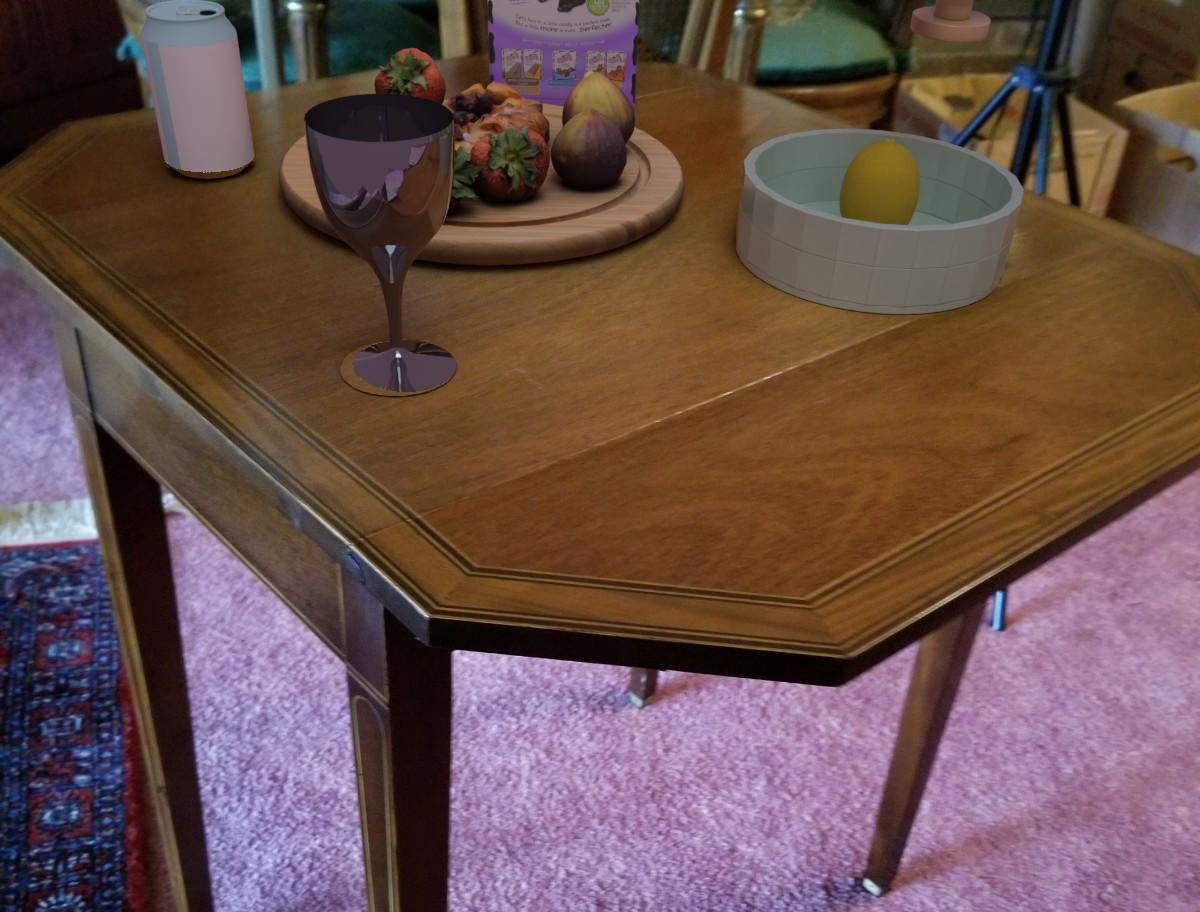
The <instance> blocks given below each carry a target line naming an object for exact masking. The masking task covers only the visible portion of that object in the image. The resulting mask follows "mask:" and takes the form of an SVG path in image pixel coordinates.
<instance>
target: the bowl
mask: <svg viewBox="0 0 1200 912" xmlns="http://www.w3.org/2000/svg"><path fill="white" fill-rule="evenodd" d="M885 138H893V139H894V140H895V141H896V143H897V144H899V145H901V146H903V147H904V148H906V149H907V150H908V151H909V152H910V153H911V155H912V156H913V157H914V159H915V161H916V164H917V167H918V171H919V179H920V190H919V198H918V203H917V206H916V209H915V212H914V214H913V216H912V218H911V220H910V222H909V224H908V225H896V224H880V223H873V222H867V221H861V220H854V219H848V218H843V217H841V213H840V202H839V201H840V191H841V187H842V183H843V179H844V176H845V173H846V171H847V169H848V167H849V165H850V163H851V161H852V159H853V158H854V157H855V156H856V155H857V154H858V153H859V152H860V151H861V150H862V149H864V148H865V147H867V146H869V145H871V144H873V143H876V142H881V141H882V140H884V139H885ZM1024 190H1025V189H1024V187H1023V186H1022V184H1021V182H1020V181H1019V178H1018V177H1017V176H1016V175H1015V174H1014V173H1012V172H1011V171H1010V170H1008V169H1007V168H1006V167H1005V166H1003V165H1002V164H1001V163H999V162H998V161H996V160H993V159H991V158H989V157H988V156H985V155H983V154H981V153H979V152H977V151H974V150H971V149H968V148H966V147H963V146H960V145H956V144H954V143H951V142H947V141H944V140H939V139H936V138H935V139H934V138H931V137H927V136H922V135H916V134H910V133H903V132H897V131H889V130H881V129H863V128H827V129H826V128H823V129H814V130H806V131H800V132H799V131H798V132H792V133H787V134H785V135H781V136H778V137H773V138H771V139H768V140H766V141H765V142H763V143H761V144H759V145H758V146H756V147H754V148H752V149H750V151H749V153H748V154H747V156H746V157H745V158H744V160H743V165H742V175H741V183H740V193H739V201H738V210H737V219H736V227H735V228H736V229H735V250H736V253H737V256H738V258H739V260H740V262H741V263H742V264H743V265H744V266H745V268H746V269H747V270H748V271H749V272H751V274H753V275H754V276H755V277H756V278H758V279H760V280H761V281H763V282H765V283H766V284H768V285H770V286H772V287H774V288H775V289H778V290H780V291H782V292H784V293H787V294H789V295H792V296H794V297H797V298H800V299H803V300H806V301H808V302H812V303H816V304H819V305H824V306H827V307H831V308H838V309H842V310H847V311H848V310H849V311H853V312H854V311H855V312H862V313H871V314H882V315H922V314H932V313H940V312H946V311H951V310H955V309H959V308H964V307H966V306H969V305H972V304H974V303H976V302H979V301H981V300H983V299H984V298H986V297H988V296H989V295H990V294H991V293H993V292H994V291H995V290H996V288H997V287H998V286H999V285H1000V283H1001V280H1002V277H1003V275H1004V273H1005V268H1006V266H1007V265H1006V264H1007V261H1008V257H1009V252H1010V249H1011V245H1012V242H1013V237H1014V234H1015V231H1016V226H1017V223H1018V220H1019V216H1020V211H1021V207H1022V204H1023V199H1024V198H1023V197H1024V192H1025V191H1024Z"/></svg>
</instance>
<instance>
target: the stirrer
mask: <svg viewBox="0 0 1200 912" xmlns="http://www.w3.org/2000/svg"><path fill="white" fill-rule="evenodd" d="M974 1H975V0H936V1H935V5H932V6H931V5H930V6H923V7H919V8H916V9H914V10H913V11H912V14H911V19H910V24H909V29H910V31H911V32H912V33H914V34H915V35H918V36H920V37H923V38H927V39H930V40H935V41H940V42H950V43H973V42H979V41H982V40H985V39H986V38H988V35H989V33H990V26H991V22H992V21H991V20H992V19H991V18H990V17H989V16H988V15H986V14H985V13H982V12H979V11H976V10H972V9H973V5H974Z"/></svg>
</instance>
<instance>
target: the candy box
mask: <svg viewBox="0 0 1200 912" xmlns="http://www.w3.org/2000/svg"><path fill="white" fill-rule="evenodd" d="M486 2H487V4H486V6H487V35H488V40H487V41H488V73H489V82H488V83H489V84H490V83H492V82H493V81H495V82H498V83H504V84H507V85H508V86H510V87H512V88H514V89H515V90H516V91H517V93H518V94H519V95H520V97H523V98H526V99H531V100H536V101H538V102H540V103H544V104H551V105H557V106H563V107H564V103H565V101H566V99H567V96H568V94H569V92H570V91H571V90H572V88H573V87H574V86H575V85H576V83H577V82H578V81H579V80H580V78H581V77H582V76H583V75H584V74H585V73H587V72H588V71H590V70H591V71H593V72H595V71H596V72H599V73H601V74H603V75H605V76H606V77H607V78H609V79H610V80H612V81H613V82H614V83H615V84H616V85H617V86H618V87H619V88H620V89H621V90H622V91H623V92H624V94H625V95H626V97H627V98H628V100H629V102H630V103H631V105H632V107H633V109H635V108H636V92H637V91H636V89H637V68H638V67H637V63H638V61H637V60H638V40H639V37H638V36H639V14H640V0H486ZM489 84H488V85H489Z"/></svg>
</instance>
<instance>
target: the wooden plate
mask: <svg viewBox="0 0 1200 912" xmlns="http://www.w3.org/2000/svg"><path fill="white" fill-rule="evenodd" d="M377 67H378V68H380V71H379V73H378V74H377V75H376V76H375V79H374V83H373V86H374V94H400V95H408V96H415V97H420V98H425V99H428V100H432V101H435V102H437V103H440V104H442V105H444V106H445V107H447V108H448V109H449V110H450V111H451V112H452V114H453V118H454V135H455V169H454V179H453V188H452V194H451V199H450V204H449V209H448V212H447V215H446V218H445V220H444V223H443V224H442V226H441V228H440V229H439V231H438V232H437V234H436V235H435V236H434V237H433V238H432V239H431V241H430V242H429V243H428V244H427V245H426V246H425V248H424V249H423V250H422V251H421V252H420V254H419V255H418V256H417V257H416V258H415V260H416V261H424V262H433V263H441V264H452V265H467V266H468V265H470V266H471V265H473V266H499V265H507V266H508V265H509V266H512V265H526V264H538V263H539V264H540V263H549V262H557V261H564V260H570V259H571V260H572V259H577V258H582V257H587V256H588V257H589V256H592V255H597V254H601V253H604V252H607V251H611V250H614V249H617V248H621V247H623V246H625V245H628V244H630V243H632V242H635V241H637V240H639V239H642V238H643V237H645V236H647V235H649V234H651V233H653V231H656V230H657V229H659V228H660V227H662V226H663V225H664V224H665V223H666V222H668V221H669V220H670V219H671V218H672V217H673V215H674V213H675V212H676V211H677V210H678V208H679V206H680V205H681V203H682V201H683V197H684V193H685V189H686V187H685V186H686V179H685V176H684V171H683V168H682V166H681V164H680V162H679V160H678V158H676V155H674V153H673V152H672V151H671V150H670V149H669V148H668V147H667V146H665V144H663V143H662V142H661V141H659V139H656V138H654V137H653V136H652V135H651V134H649V133H647V132H646V131H644V130H642V129H639V128H637V127H635V126H636V115H635V110H634V108H633V107H632V105H631V103H630V102H629V100H628V98H627V97H626V95H625V94H624V92H623V91H622V90H621V89H620V88H619V87H618V86H617V85H616V84H615V83H614V82H613V81H612V80H610V79H609V78H607V77H606V76H605V75H603V74H601V73H599V72H596V71H595V72H593V71H591V70H590V71H588V72H587V73H585V74H584V75H583V76H582V77H581V78H580V80H579V81H578V82H577V83H576V85H575V86H574V87H573V88H572V90H571V91H570V92H569V94H568V96H567V99H566V101H565V103H564V107H563V106H557V105H551V104H544V103H540V102H538V101H536V100H531V99H526V98H523V97H520V95H519V94H518V93H517V91H516V90H515V89H514V88H512V87H510V86H508V85H507V84H504V83H498V82H495V81H493V82H492V83H490V84H487V87H486V88H484V86H483V83H481V82H480V83H479V82H478V83H474V84H472V85H471V86H470V87H469V88H466V89H465V90H463V91H461V92H458V93H457V94H455V95H454V96H453V97H451V98H450V99H445V97H446V93H447V85H446V82H445V78H444V77H443V75H442V73H441V71H440V69H439V67H438V65H437V63H436V62H435V61H434V59H433V58H432V57H431V56H430V55H429V54H428V53H427V52H424V51H421V50H420V49H418V48H417V47H416V48H415V47H410V48H402V49H401V50H399V51H397V52H396V53H395V54H391V55H390V57H389V62H387V63H386V65H385V66H383V65H377ZM278 184H279V188H280V191H281V194H282V195H283V197H284V199H285V201H286V203H287V204H288V206H290V208H291V210H293V211H294V213H295V214H296V215H298V216H299V217H300V218H301V219H302V220H303V221H304V222H305V223H307V224H308V225H310V226H311V227H313V228H315V229H316V230H318V231H320V232H322V233H324V234H326V235H328V236H330V237H332V238H335V239H336V240H339V241H342V242H345V241H344V240H343V239H342V238H341V237H340V236H339V235H338V234H337V233H336V231H335V230H334V229H333V228H332V226H331V225H330V224H329V222H328V220H327V218H326V216H325V214H324V211H323V209H322V206H321V203H320V200H319V198H318V195H317V191H316V188H315V184H314V180H313V176H312V172H311V169H310V163H309V157H308V151H307V145H306V136H305V135H303V136H302V137H300V138H299V139H298V140H296V142H295V143H293V145H292V146H291V147H290V148H289V149H288V151H287V152H286V153H285V155H284V156H283V157H282V160H281V163H280V165H279V171H278ZM345 243H346V242H345Z"/></svg>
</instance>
